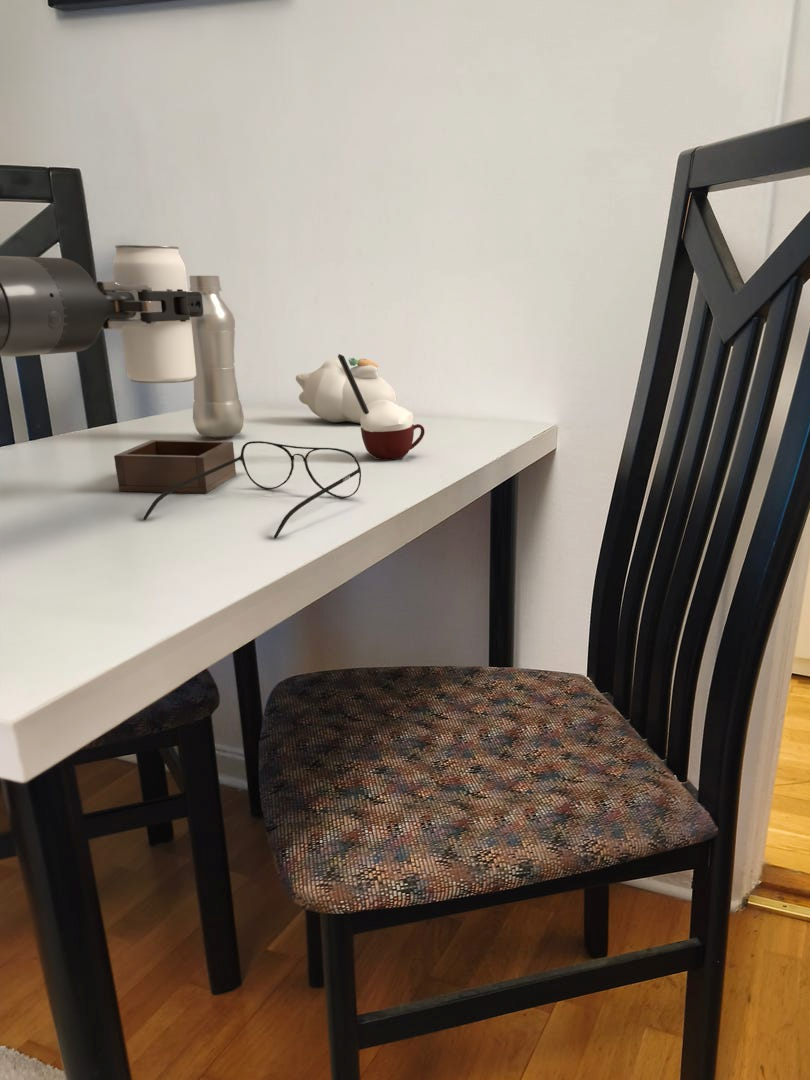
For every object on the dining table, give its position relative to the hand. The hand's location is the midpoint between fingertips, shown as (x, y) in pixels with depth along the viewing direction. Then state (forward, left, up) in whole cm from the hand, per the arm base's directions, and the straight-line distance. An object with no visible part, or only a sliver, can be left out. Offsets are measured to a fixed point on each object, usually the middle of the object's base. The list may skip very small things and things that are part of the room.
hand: (170, 303), depth 86 cm
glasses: (+10, -10, -18) cm, 23 cm away
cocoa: (+18, +16, -18) cm, 30 cm away
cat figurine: (+8, +42, -18) cm, 47 cm away
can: (-1, -2, -7) cm, 8 cm away
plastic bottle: (-6, +27, -18) cm, 33 cm away
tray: (-1, 0, -18) cm, 18 cm away
